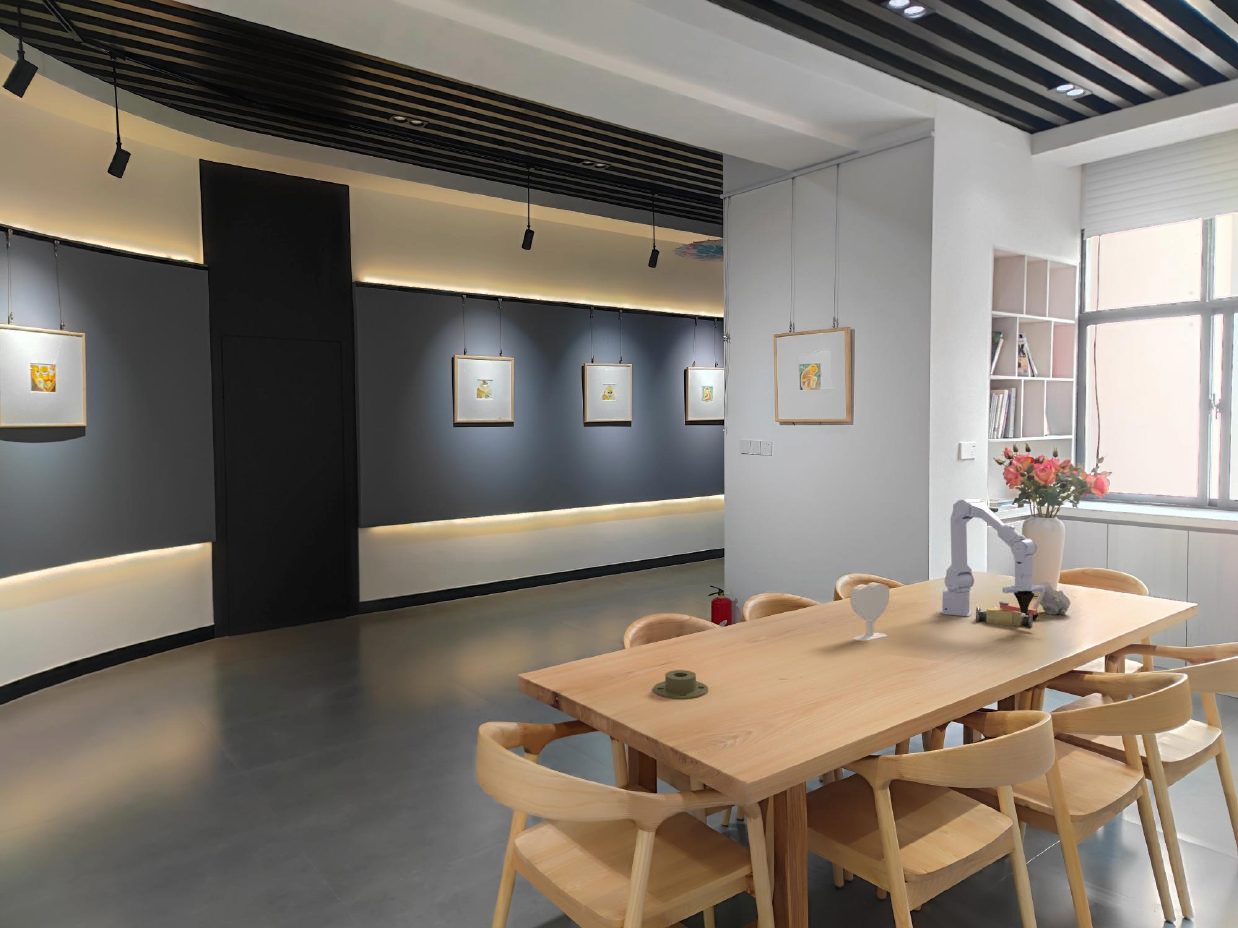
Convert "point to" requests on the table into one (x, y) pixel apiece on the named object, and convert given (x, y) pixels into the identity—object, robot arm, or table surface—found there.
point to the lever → (1016, 608)
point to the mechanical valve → (1051, 601)
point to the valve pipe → (1003, 617)
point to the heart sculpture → (869, 606)
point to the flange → (680, 685)
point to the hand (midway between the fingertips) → (1023, 612)
